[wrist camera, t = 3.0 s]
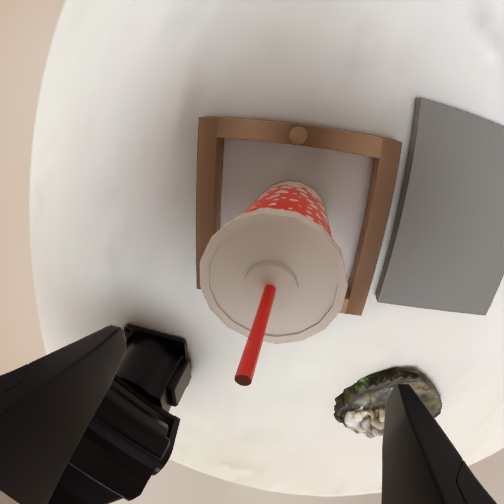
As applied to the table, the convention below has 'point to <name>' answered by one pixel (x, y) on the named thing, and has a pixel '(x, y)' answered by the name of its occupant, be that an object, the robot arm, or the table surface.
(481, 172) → the rubber mat
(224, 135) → the socket collar
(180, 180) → the table surface
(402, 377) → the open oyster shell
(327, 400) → the table surface
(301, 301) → the beverage cup
